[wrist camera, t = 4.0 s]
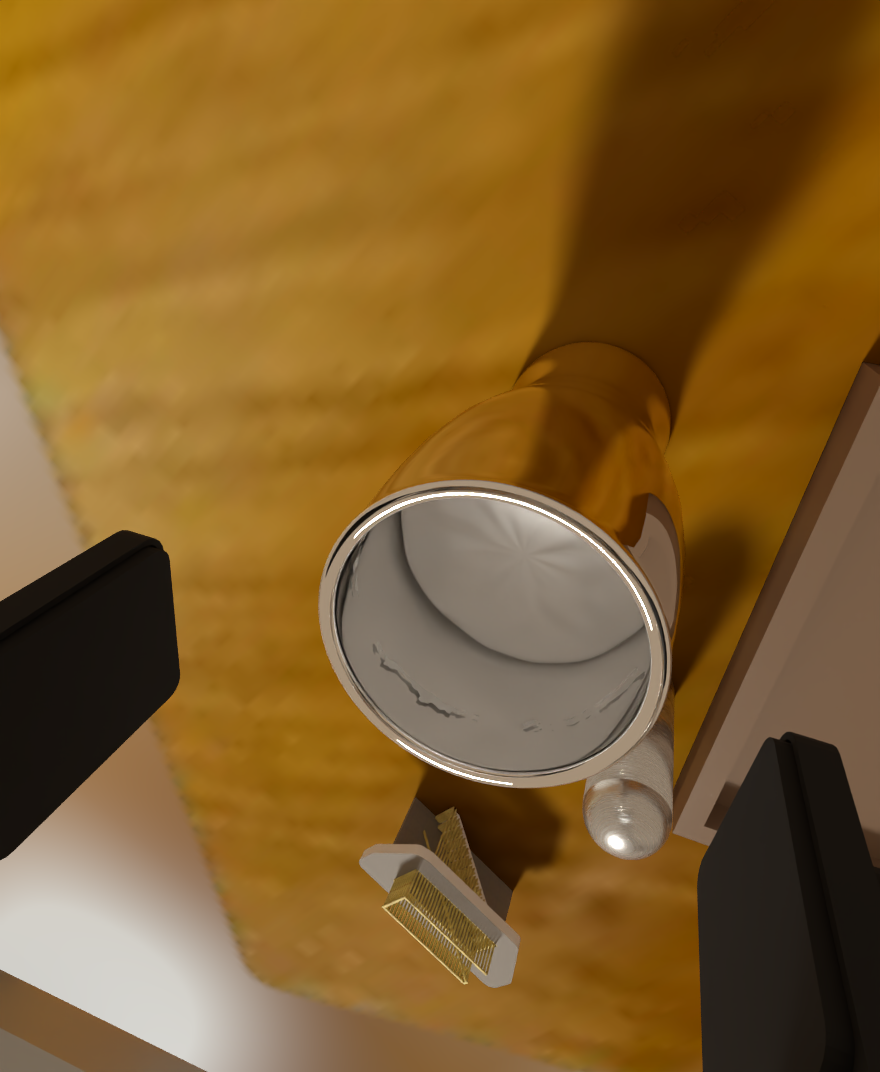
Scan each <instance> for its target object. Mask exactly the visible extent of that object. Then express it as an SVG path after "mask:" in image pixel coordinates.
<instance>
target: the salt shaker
mask: <svg viewBox="0 0 880 1072" xmlns="http://www.w3.org/2000/svg"><path fill="white" fill-rule="evenodd" d="M674 692H675V691H674V684H673V681H672V679H671V680H670V686H669V690H668V694H667V698H666V701H665V703H664V706H663V708H662V711H661V713H660V715H659V717H658V719H657V721H656V723H655V724H654V726H653V728H652V729H651V731H650V732H649V733H648V735H647V736H646V737H645V738H644V740H643V741H642V742H641V743H640V744H639V745H638V746H637V747H636V748H635V749H634V750H633V751H632V752H631V753H630V754H628V755H627V756H626V757H625V758H623V759H622V760H621V761H619V762H618V763H616V764H615V765H613V766H611V767H610V768H608V769H606V770H604V771H602V772H600V773H598V774H596V775H593V776H591V777H588V778H587V781H586V787H585V792H584V798H583V818H584V821H585V825H586V827H587V830H588V832H589V834H590V835H591V837H592V838H593V840H594V841H595V842H596V843H597V844H598V845H599V846H600V847H601V848H602V849H603V850H605V851H606V852H608V853H609V854H611V855H613V856H615V857H618V858H621V859H627V860H638V859H643V858H646V857H648V856H651V855H652V854H654V853H655V852H657V851H658V850H659V849H660V848H661V847H662V846H663V845H664V843H665V842H666V840H667V838H668V836H669V834H670V831H671V826H672V810H673V751H674Z"/></svg>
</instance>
